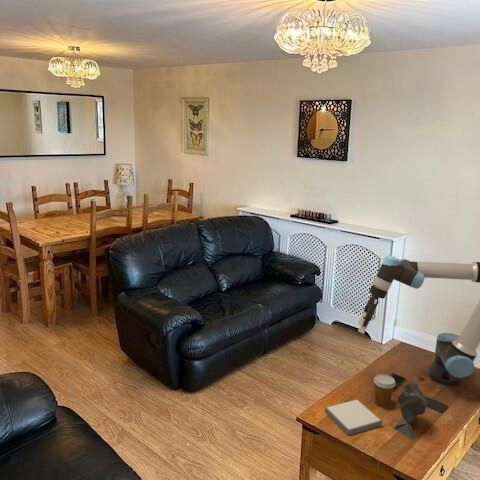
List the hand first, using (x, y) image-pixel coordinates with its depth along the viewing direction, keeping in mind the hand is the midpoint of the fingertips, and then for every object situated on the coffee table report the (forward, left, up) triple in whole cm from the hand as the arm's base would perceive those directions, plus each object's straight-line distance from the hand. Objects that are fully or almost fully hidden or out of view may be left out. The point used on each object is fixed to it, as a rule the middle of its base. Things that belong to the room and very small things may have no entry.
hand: (360, 328), depth 219 cm
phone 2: (-19, +4, -31) cm, 37 cm away
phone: (-23, +24, -31) cm, 45 cm away
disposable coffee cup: (-3, +16, -31) cm, 34 cm away
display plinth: (+17, +21, -30) cm, 40 cm away
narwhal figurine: (-3, +32, -31) cm, 45 cm away
